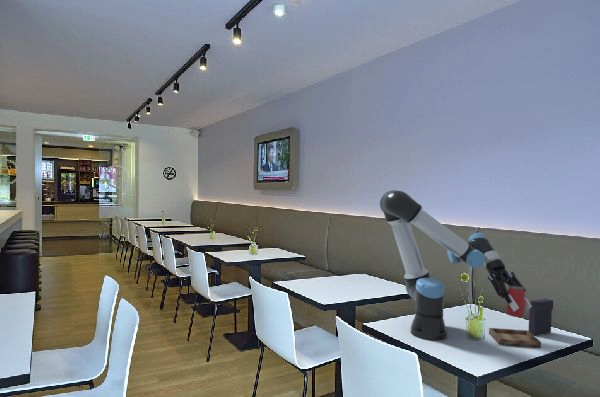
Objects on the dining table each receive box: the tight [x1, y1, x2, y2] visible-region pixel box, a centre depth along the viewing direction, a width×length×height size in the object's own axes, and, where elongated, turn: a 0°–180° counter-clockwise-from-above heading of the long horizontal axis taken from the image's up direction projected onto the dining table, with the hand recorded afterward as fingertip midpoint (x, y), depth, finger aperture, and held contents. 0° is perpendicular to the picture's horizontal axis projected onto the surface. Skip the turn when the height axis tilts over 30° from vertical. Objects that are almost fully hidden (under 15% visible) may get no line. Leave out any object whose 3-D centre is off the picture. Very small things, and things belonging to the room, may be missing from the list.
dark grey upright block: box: [527, 298, 554, 337], centre depth 186 cm, size 11×4×15 cm, turn 115°
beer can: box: [506, 285, 526, 318], centre depth 176 cm, size 7×7×12 cm
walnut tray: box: [488, 327, 542, 349], centre depth 176 cm, size 16×14×2 cm
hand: (522, 308), depth 173 cm, fingers closed on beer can, 6 cm apart
